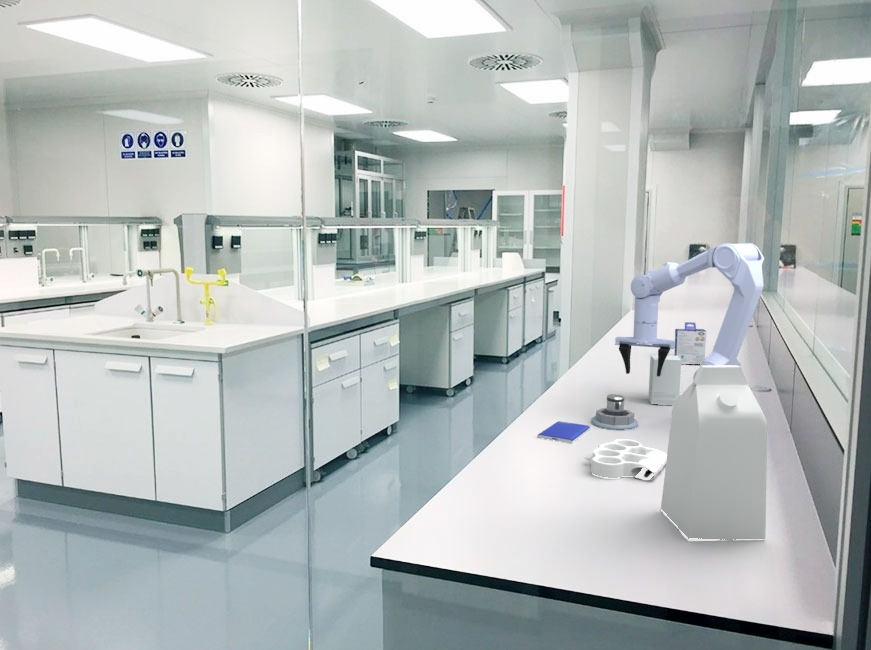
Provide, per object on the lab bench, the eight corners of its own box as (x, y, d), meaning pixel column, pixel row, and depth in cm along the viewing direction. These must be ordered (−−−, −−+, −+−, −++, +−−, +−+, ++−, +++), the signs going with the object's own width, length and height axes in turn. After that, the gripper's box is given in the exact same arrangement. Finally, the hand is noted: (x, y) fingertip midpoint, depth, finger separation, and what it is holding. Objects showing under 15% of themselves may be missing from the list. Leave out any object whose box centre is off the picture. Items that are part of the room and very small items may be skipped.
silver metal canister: (621, 418, 172) (622, 394, 171) (625, 423, 167) (626, 399, 166) (604, 417, 172) (605, 394, 171) (608, 423, 167) (609, 398, 166)
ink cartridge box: (701, 362, 248) (704, 322, 246) (705, 365, 242) (707, 324, 240) (672, 361, 249) (675, 321, 247) (675, 364, 244) (677, 323, 242)
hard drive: (557, 420, 169) (537, 433, 158) (590, 425, 164) (572, 439, 154) (557, 427, 169) (537, 440, 158) (589, 432, 165) (572, 446, 154)
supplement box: (679, 406, 187) (681, 360, 185) (650, 405, 188) (652, 358, 186) (675, 400, 194) (678, 355, 192) (647, 398, 195) (650, 354, 193)
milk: (730, 510, 118) (740, 359, 114) (765, 540, 107) (777, 373, 103) (660, 511, 117) (668, 359, 114) (688, 541, 106) (697, 374, 102)
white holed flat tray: (649, 489, 128) (573, 474, 136) (672, 462, 143) (603, 450, 151) (650, 472, 128) (574, 458, 135) (673, 446, 143) (603, 435, 150)
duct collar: (645, 429, 165) (646, 418, 165) (600, 430, 164) (601, 419, 163) (627, 417, 176) (628, 406, 175) (585, 418, 175) (585, 407, 174)
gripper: (613, 322, 177) (611, 374, 179) (673, 325, 171) (671, 380, 173) (618, 318, 183) (616, 369, 185) (676, 322, 177) (674, 374, 179)
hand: (643, 374), depth 179 cm, fingers open, 7 cm apart
